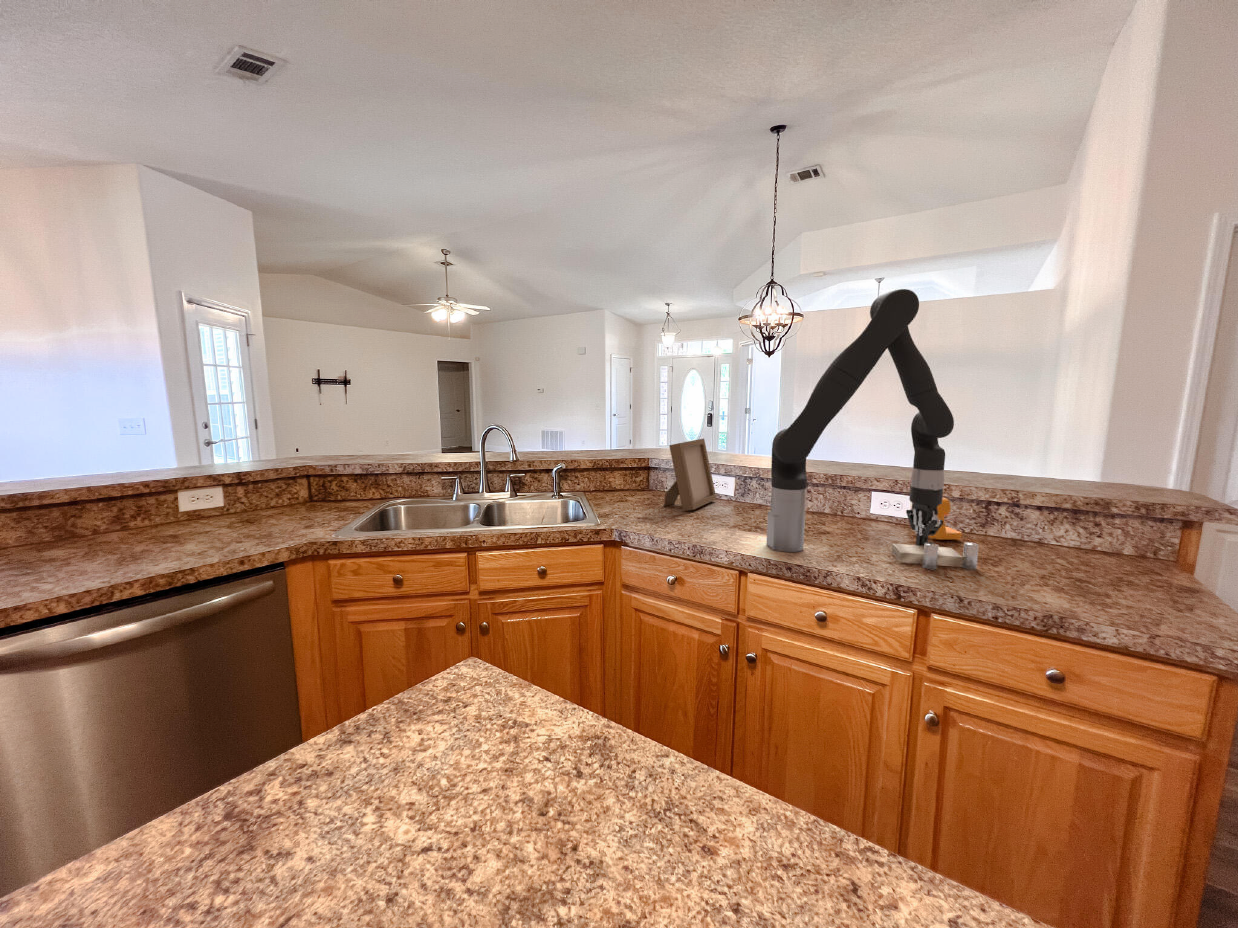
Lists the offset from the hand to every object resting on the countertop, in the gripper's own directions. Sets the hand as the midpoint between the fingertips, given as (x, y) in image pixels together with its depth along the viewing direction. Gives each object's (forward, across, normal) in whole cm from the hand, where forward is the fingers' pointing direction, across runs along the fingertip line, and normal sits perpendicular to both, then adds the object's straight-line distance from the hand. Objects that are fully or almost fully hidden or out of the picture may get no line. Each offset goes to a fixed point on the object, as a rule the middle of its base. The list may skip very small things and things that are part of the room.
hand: (921, 548), depth 137 cm
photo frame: (+2, -60, -54) cm, 81 cm away
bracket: (+2, -16, +15) cm, 22 cm away
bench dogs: (+1, +12, 0) cm, 12 cm away
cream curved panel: (+2, +5, -2) cm, 6 cm away
